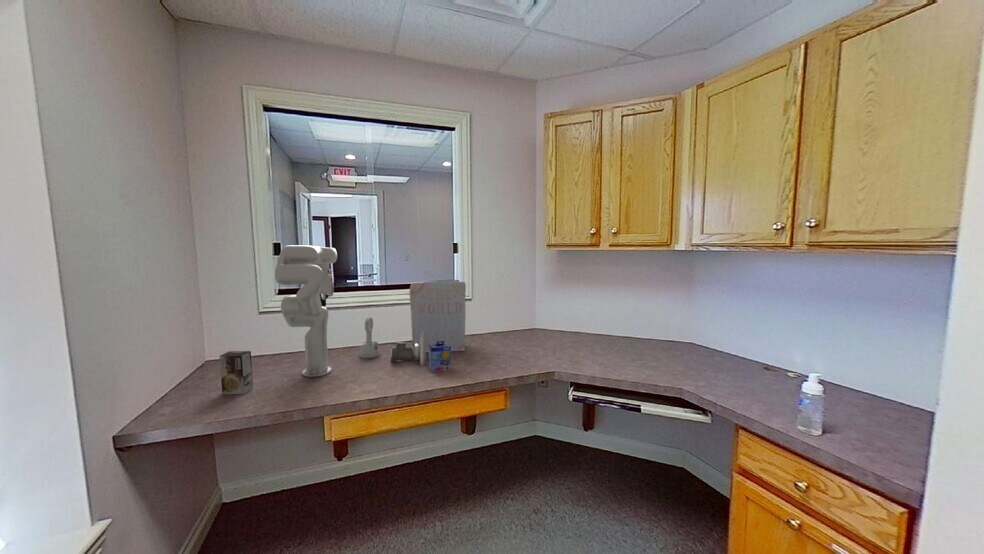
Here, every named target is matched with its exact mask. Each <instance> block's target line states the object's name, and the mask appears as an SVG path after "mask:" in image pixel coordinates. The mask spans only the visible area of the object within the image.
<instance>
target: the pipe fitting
mask: <svg viewBox="0 0 984 554" xmlns="http://www.w3.org/2000/svg"><path fill="white" fill-rule="evenodd" d="M395 344H396V345H395V346H394V345H392V346H391V350H390V354H389V355H390V356H389V357H390V363H396V362H397V361H401V362H403V361H406V362H412V361H414V350H413V348H412V347H413V346H406V345H407V342H405V341H396V342H395Z"/></svg>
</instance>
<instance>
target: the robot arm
mask: <svg viewBox="0 0 984 554" xmlns="http://www.w3.org/2000/svg"><path fill="white" fill-rule="evenodd" d="M337 260H338V253H337V250H336V248H335V247H325V246H317V245H309V244H308V245H306V244H304V245H303V244H302V245H298V244H297V245H296V244H295V245H293V244H292V245H291V244H289V245H285V246H284V247H283V248H282V249H281V250H280V253H279V255H278V259H277V262H276V267H275V270H274V279H275V282H276V283H277V284H278V285H282V286H295V285H296V286H301V288H300V289H299V290H298V291H297V292H296V294H290V295H285V296H284V297H283V298H282V300H281V303H280V311H281V314H282V316H283V318H284V321H285V322H286V324H287V326H289V327H291V328H309V329H308V330H307V332H306V333H305V335H304V356H305V357H304V359H305V369H303V370H302V372H301V375H302V376H304V377H307V378H313V377H314V378H315V377H323V376H326V375H328V374H331V372H332V370H333V369H332V367H331V366H329V362H328V361H329V360H328V357H329V356H328V352H329V351H328V322H329V310H328V308H327V307H326V306H327V299H328V298H330V297H333V296H334V291H335V290H334V281H333V276H332V274H331V273H333V269H330V264H335V263H336V262H337ZM302 285H303V286H302Z"/></svg>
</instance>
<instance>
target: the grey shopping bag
mask: <svg viewBox="0 0 984 554" xmlns="http://www.w3.org/2000/svg"><path fill="white" fill-rule="evenodd" d="M466 288H467V285H466V282H465V281H460V279H443V280H441V279H439V280H431V281H420V282H419V281H415V282H412V283H411V284H410V287H409V307H410V319H411V320H410V321H411V323H410V324H411V325H410V326H411V336H412V337H411V338H412V346H411V347H412V349H413V350H414V344H415V343H420V336H421V334H422V331H425V344H426V353H429V345H433V344H437V342H439V341H444V344H445V343H448V344H449V345H450V346H451V352H457V351H458V352H459V351H466V348H465V344H466V343H465V342H466V292H467V290H466ZM440 343H442V342H440ZM440 343H438V344H440Z"/></svg>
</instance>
